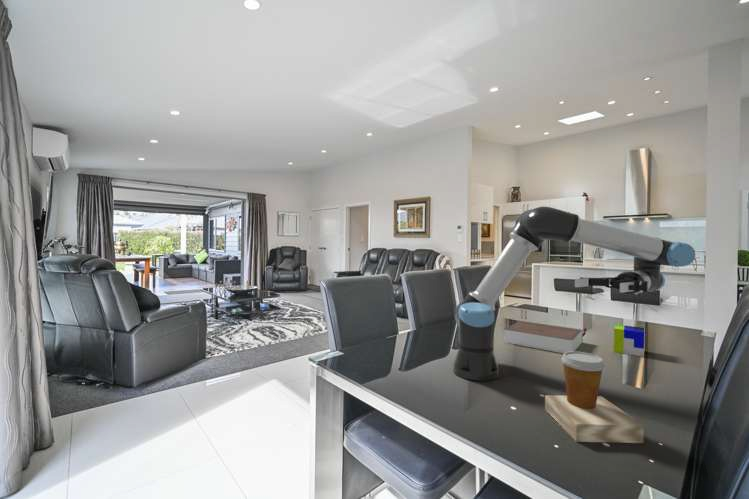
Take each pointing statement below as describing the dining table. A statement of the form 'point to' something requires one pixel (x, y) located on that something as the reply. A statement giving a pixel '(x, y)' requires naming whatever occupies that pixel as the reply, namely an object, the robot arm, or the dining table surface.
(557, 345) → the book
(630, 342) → the puzzle toy
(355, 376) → the dining table surface
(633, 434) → the wooden base block
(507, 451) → the dining table surface
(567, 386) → the disposable coffee cup
